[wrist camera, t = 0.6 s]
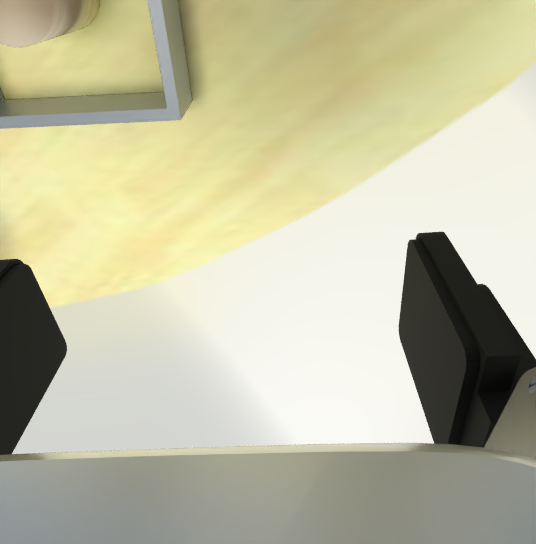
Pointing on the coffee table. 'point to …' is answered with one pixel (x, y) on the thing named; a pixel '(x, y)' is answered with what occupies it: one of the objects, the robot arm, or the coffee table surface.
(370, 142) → the coffee table surface
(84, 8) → the beige grooved cylinder
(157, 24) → the grey square frame
